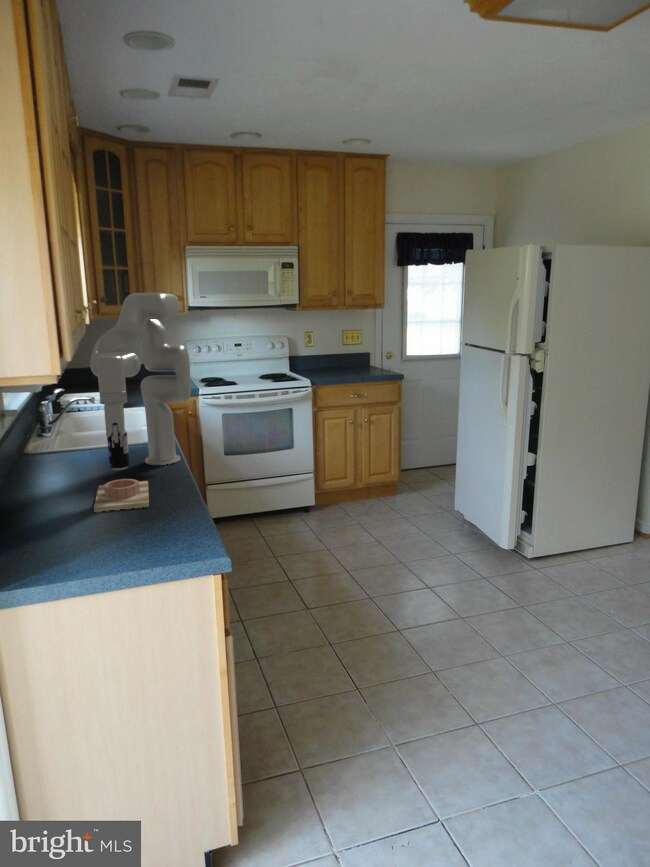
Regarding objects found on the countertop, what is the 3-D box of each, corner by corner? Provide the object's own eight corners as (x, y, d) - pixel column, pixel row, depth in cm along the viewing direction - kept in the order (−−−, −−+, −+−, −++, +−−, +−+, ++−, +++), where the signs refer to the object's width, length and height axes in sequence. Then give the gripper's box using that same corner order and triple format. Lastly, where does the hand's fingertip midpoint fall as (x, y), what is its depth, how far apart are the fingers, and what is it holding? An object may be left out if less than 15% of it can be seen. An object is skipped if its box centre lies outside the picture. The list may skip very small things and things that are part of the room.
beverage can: (123, 464, 193) (119, 426, 191) (133, 467, 190) (130, 428, 187) (106, 468, 189) (102, 429, 186) (117, 472, 185) (113, 432, 183)
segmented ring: (106, 490, 195) (105, 480, 194) (139, 486, 197) (139, 477, 196) (104, 500, 185) (103, 490, 184) (139, 496, 188) (138, 486, 187)
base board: (99, 489, 200) (98, 485, 200) (148, 485, 204) (147, 480, 203) (94, 512, 179) (93, 507, 179) (149, 506, 183) (148, 501, 183)
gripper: (101, 394, 192) (107, 451, 196) (98, 403, 176) (104, 465, 179) (127, 392, 194) (132, 449, 198) (126, 401, 178) (131, 463, 181)
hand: (119, 456), depth 189 cm, fingers closed on beverage can, 5 cm apart
